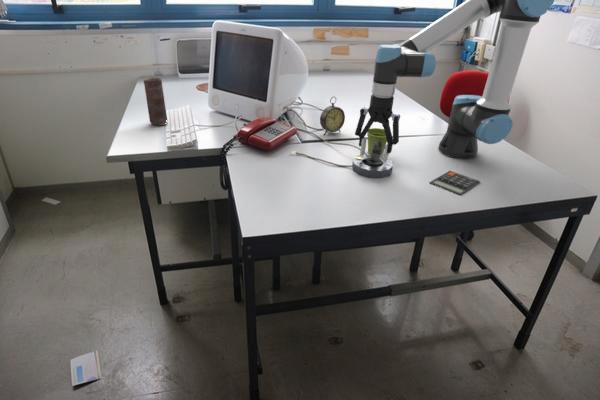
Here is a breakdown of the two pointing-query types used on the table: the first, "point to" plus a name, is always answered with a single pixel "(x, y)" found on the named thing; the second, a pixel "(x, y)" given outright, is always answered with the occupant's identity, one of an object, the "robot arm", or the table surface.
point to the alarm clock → (332, 118)
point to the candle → (155, 101)
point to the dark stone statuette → (375, 155)
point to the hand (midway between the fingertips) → (373, 157)
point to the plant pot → (376, 138)
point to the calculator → (455, 182)
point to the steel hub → (371, 168)
